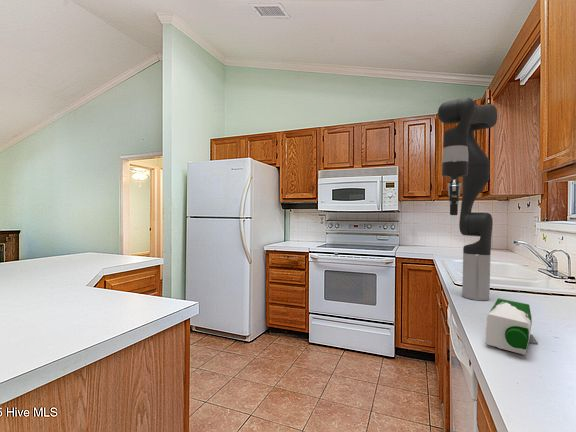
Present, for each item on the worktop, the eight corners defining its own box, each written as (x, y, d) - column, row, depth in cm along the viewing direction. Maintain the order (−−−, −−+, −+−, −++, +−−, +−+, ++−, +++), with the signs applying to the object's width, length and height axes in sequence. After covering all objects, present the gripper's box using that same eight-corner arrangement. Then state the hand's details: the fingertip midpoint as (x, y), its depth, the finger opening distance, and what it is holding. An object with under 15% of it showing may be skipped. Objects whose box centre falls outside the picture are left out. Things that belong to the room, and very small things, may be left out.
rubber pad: (503, 331, 88) (503, 329, 88) (532, 336, 85) (532, 334, 85) (506, 339, 83) (506, 337, 83) (537, 344, 80) (537, 343, 80)
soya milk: (530, 333, 86) (527, 362, 71) (491, 323, 92) (480, 348, 76) (533, 301, 86) (531, 323, 70) (494, 294, 91) (483, 312, 76)
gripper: (442, 165, 111) (441, 215, 111) (441, 159, 99) (439, 214, 99) (467, 164, 107) (466, 215, 108) (468, 157, 96) (467, 215, 96)
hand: (453, 215), depth 103 cm, fingers closed
